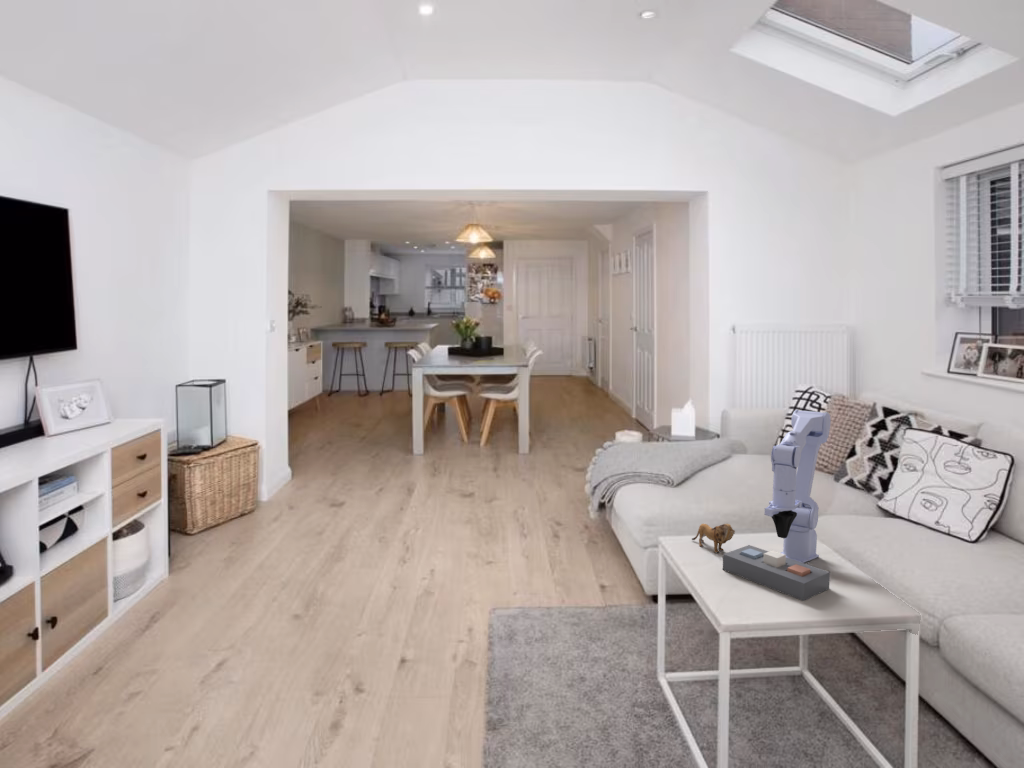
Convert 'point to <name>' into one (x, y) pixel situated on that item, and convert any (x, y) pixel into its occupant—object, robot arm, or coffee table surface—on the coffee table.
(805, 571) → the red key
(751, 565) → the key housing
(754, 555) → the blue key
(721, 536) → the lion figurine
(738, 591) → the coffee table surface
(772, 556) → the white key
